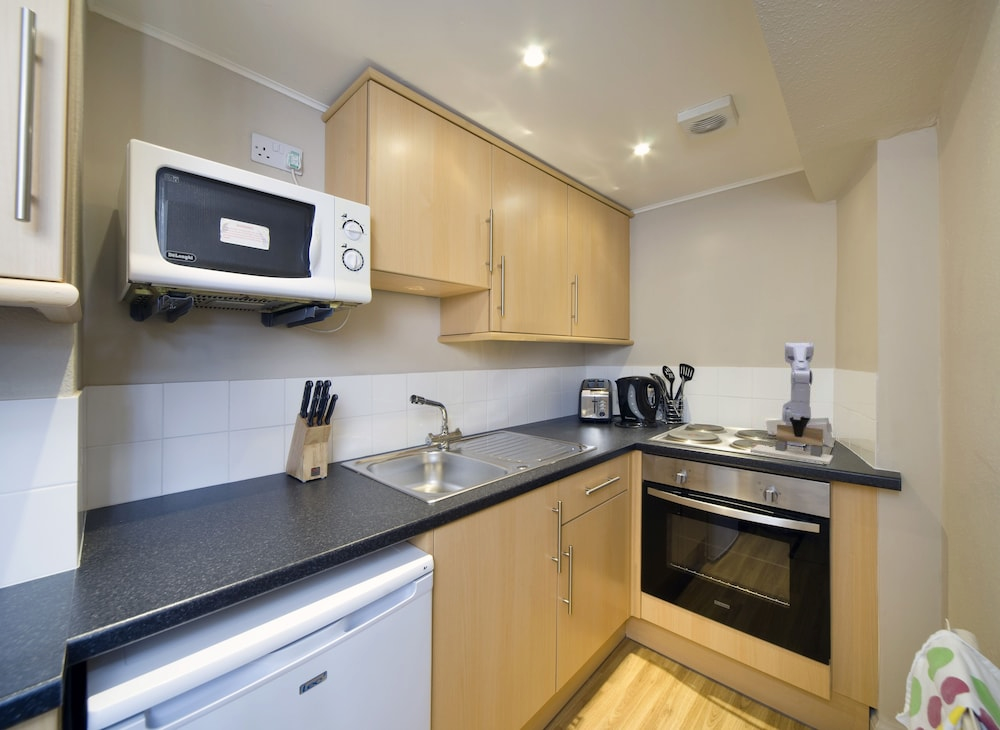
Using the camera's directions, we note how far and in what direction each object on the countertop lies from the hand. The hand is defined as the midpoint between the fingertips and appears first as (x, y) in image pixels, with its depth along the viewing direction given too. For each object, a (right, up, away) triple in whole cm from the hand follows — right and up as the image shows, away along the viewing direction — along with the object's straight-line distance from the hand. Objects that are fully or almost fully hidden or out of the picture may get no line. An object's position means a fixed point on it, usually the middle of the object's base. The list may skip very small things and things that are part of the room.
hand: (798, 436), depth 154 cm
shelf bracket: (+20, -7, +27) cm, 34 cm away
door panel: (0, -2, 0) cm, 2 cm away
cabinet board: (-3, -7, 0) cm, 8 cm away
